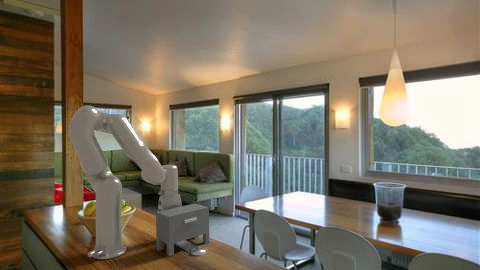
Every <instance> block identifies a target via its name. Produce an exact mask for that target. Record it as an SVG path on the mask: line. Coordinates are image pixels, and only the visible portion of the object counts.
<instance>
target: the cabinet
mask: <svg viewBox="0 0 480 270" xmlns="http://www.w3.org/2000/svg"><path fill="white" fill-rule="evenodd" d="M155 230H156V231H155V232H156V233H155V235H156V236H155V237H156V239H155V240H156V243H155V245H156V251H159V252H160V251H162V250H163V251H164V244H166V256H168V257H171V256H174V255H175V245H174V243H177V242H180V241H183V240H186V241H187V240H189V239H194V240H196V239H199V236H201V235H202V243H203V244H205V245H206V244H209V243H210V207H209V206H207V205H202V204H198V203H191V204H186V205H182V207H177V208H173V209H168V210H164V211H159V212H158V211H156V212H155Z"/></svg>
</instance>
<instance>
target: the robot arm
mask: <svg viewBox="0 0 480 270" xmlns="http://www.w3.org/2000/svg"><path fill="white" fill-rule="evenodd" d="M95 131H96V132H99V133H105V134H109V135H112V137H113V138H114V140H115V141H116V142H117V144H118V145H119V147H120V148H121V150H122V151H123V153H124V154H125V155H126V156H127V157H128V158H130V159H131V160H132V161H133V162H135V163H136V165H137V166H138V167H139V168H140V169H141V173H140V175H141V178H142V180H143V181H145V182H146V183H149V184H151V185H155V186H158V185H159V186H160V191H158V195H159V199H158V210H157V212H159V211H164V210H168V209H173V208H177V207H182V206H183V205H182V198H181V195H180V193H179V182H178V181H179V170H178V169H179V168H178V166H177V165H175V164H165V165H164V164H163V165H162V164H161V163H160V161H159V160H158V158H157V157H156V156H155V154H153V152H152V151H151V150H150V148H148V146H147V145H146V144H145V142H144V141H143V140H142V138H141V137H140V135H139V134H138V133H137V131H136V129H135V128H134V126H133V125H132V124H131V122H130V121H129V119H128V118H127V116H125V115H123V114H121V113H120V114H119V113H114V114H112V113H108V112H107V113H106V112H104V111H103V112H102V111H100V110H98V108H96V107H95V106H92V105H88V104H87V105H82V106H80V107H79V108H78V109H77V110H76V111H75V113H74V115H73V116H72V118H71V120H70V122H69V125H68V136H69V140H70V142H71V144H72V146H73V148H74V151H75V153H76V155H77V157H78V159H79V165H80V168H81V170H82V173H83V174H84V175H85V178H86V179H87V181H88V183H89V184H90V187H91V188H92V189H93V191H94V192H95V245H94V249H93V250H90V251H89V252H88V253H87V257H88V258H93V259H96V260H109V259H115V258H117V257H120V256H122V255H123V254H125V253H126V252H127V247H126V246H125V245H123V234H122V233H123V231H122V230H123V228H122V220H123V219H122V197H123V185H122V182H121V180H120V179H119V178H118V177H117V176H115V175H114V173H112V171H111V168H110V167H109V160H108V157H107V155H106V154H105V153H104V151H103V149H102V148H101V146H100V144H99V142H98V141H99V140H98V139H97V137H96V135H95V134H96V133H95Z"/></svg>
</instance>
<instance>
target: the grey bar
mask: <svg viewBox="0 0 480 270" xmlns="http://www.w3.org/2000/svg"><path fill="white" fill-rule="evenodd" d="M174 246H175V247H177V248H180V249H182V250H184V251H186V252H187V253H191V249H193V248H195V247H199V246H198V245H196V244H193V243H191V242H190V241H188V240H187V239H186V240H183V241H180V242H177V243H174Z"/></svg>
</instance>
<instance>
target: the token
mask: <svg viewBox="0 0 480 270" xmlns="http://www.w3.org/2000/svg"><path fill="white" fill-rule="evenodd" d="M190 254H191V256H195V257H200V256H204V255H206V254H207V248H206V247H204V246H198V247H195V248H193V249H191V252H190Z"/></svg>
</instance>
